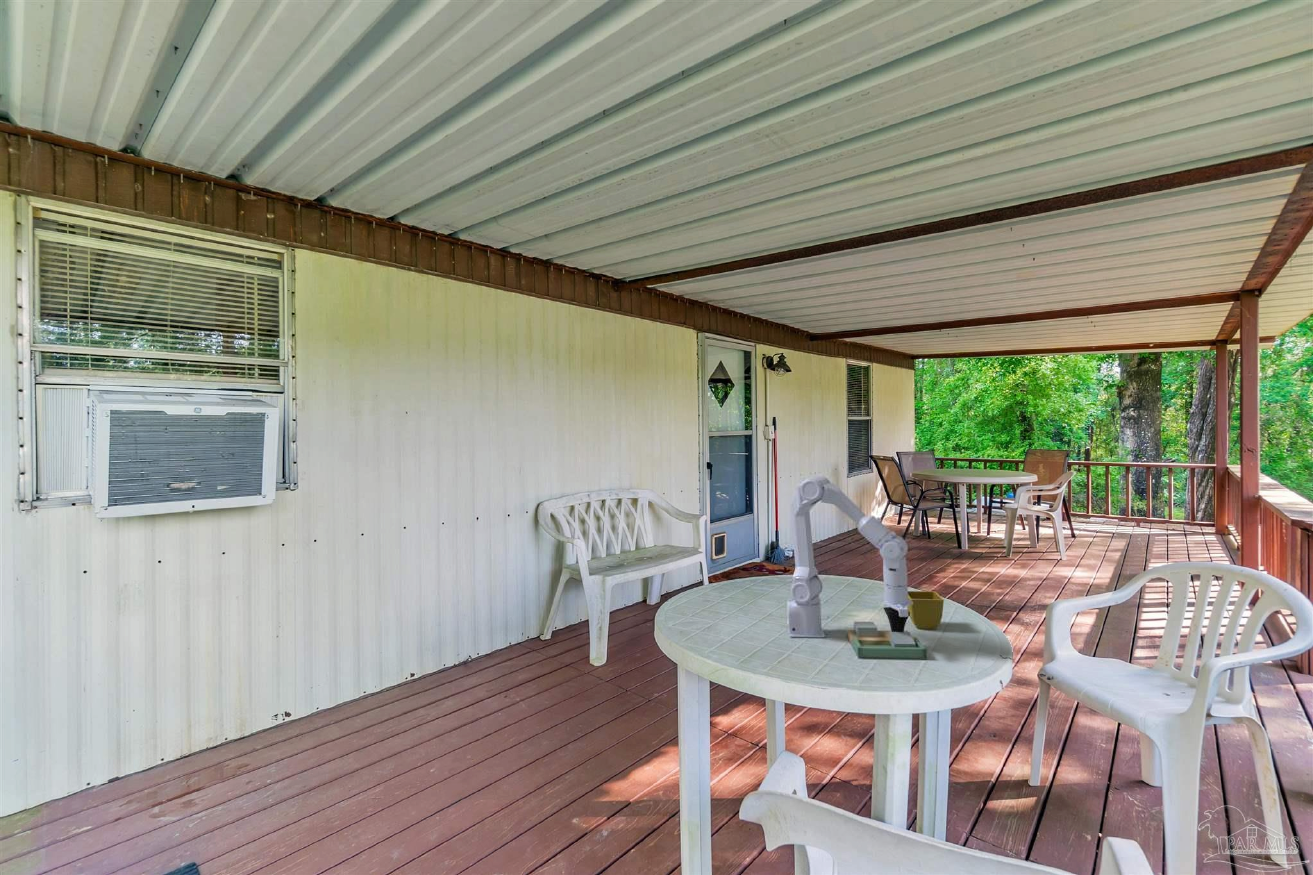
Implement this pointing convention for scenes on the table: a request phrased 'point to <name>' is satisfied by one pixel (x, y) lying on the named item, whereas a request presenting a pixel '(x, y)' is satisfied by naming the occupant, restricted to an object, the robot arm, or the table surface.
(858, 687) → the table surface
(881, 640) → the board
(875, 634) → the tile left
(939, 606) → the flower pot
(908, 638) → the tile right
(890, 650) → the tray
